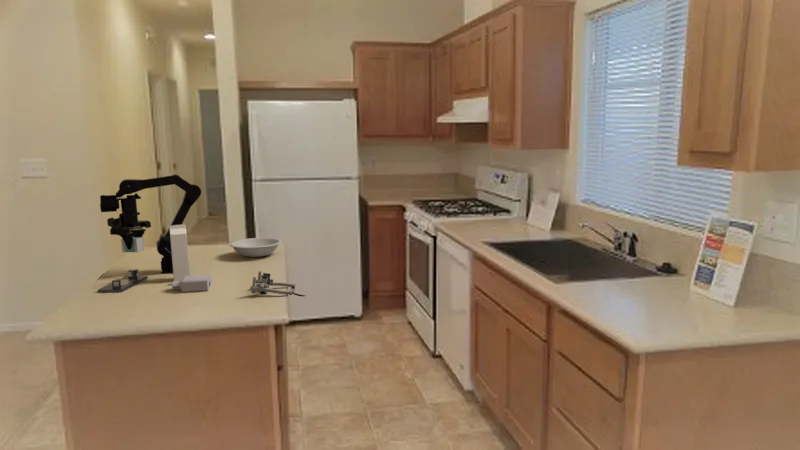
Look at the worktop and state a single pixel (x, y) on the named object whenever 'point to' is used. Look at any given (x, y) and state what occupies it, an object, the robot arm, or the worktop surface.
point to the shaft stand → (123, 282)
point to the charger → (193, 283)
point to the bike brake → (265, 281)
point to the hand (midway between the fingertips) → (133, 248)
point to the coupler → (134, 245)
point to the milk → (179, 251)
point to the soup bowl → (255, 246)
